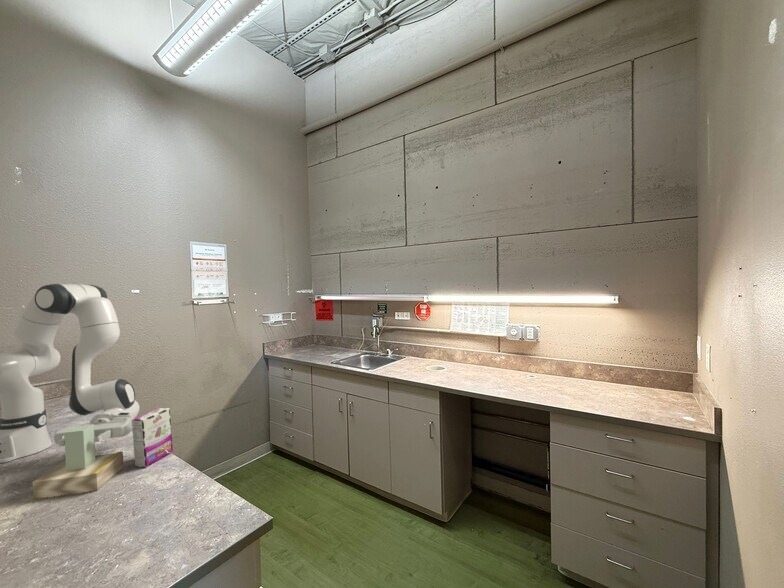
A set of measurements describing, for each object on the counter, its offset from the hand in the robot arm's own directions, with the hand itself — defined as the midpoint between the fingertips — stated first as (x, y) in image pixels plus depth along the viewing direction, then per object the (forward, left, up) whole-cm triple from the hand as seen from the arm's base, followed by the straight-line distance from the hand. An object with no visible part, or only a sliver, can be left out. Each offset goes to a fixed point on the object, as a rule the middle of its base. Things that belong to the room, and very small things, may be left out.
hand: (78, 441), depth 107 cm
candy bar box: (+16, +10, -13) cm, 23 cm away
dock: (0, 0, -13) cm, 13 cm away
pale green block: (0, 0, -8) cm, 8 cm away
